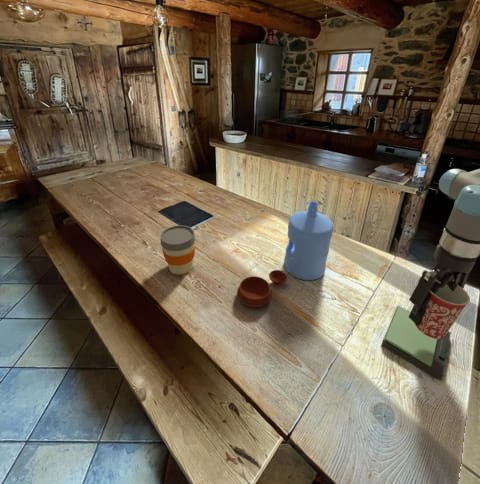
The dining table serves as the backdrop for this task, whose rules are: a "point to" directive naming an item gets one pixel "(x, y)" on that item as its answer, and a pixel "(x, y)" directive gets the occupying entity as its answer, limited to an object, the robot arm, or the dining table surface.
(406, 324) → the scale
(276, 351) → the dining table surface
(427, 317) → the mug
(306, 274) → the water jug
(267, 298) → the pottery
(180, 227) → the reusable coffee cup
